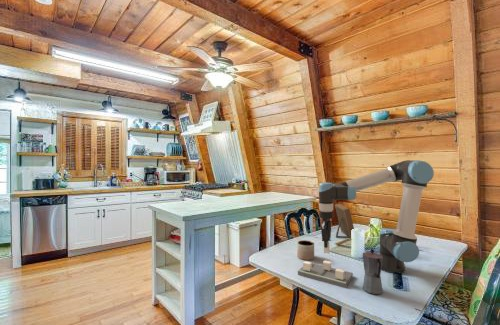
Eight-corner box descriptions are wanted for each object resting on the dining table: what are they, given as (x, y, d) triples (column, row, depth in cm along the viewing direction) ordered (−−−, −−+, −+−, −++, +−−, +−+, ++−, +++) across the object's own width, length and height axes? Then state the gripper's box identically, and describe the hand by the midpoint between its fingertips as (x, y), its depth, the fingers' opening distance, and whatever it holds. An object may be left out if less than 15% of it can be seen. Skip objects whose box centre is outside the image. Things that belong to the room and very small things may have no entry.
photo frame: (345, 231, 230) (345, 203, 230) (356, 239, 209) (356, 208, 208) (329, 231, 230) (329, 203, 230) (338, 239, 208) (337, 208, 208)
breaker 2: (344, 277, 137) (344, 270, 137) (343, 280, 134) (343, 272, 134) (336, 275, 139) (336, 268, 139) (335, 278, 137) (335, 270, 137)
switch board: (352, 276, 144) (352, 272, 144) (345, 287, 131) (345, 283, 131) (307, 265, 158) (307, 262, 158) (297, 274, 146) (297, 270, 146)
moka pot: (374, 283, 136) (375, 245, 136) (391, 299, 121) (392, 256, 120) (356, 283, 136) (357, 245, 135) (371, 299, 120) (372, 256, 120)
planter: (314, 261, 165) (314, 246, 165) (297, 259, 167) (297, 245, 167) (313, 255, 175) (314, 240, 175) (297, 253, 178) (297, 239, 177)
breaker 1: (311, 269, 147) (311, 262, 147) (309, 271, 144) (309, 264, 144) (305, 267, 149) (305, 260, 149) (302, 269, 147) (303, 262, 147)
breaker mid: (331, 268, 148) (331, 261, 148) (329, 270, 145) (329, 263, 145) (324, 267, 150) (324, 260, 150) (322, 269, 148) (322, 262, 147)
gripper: (323, 207, 152) (323, 247, 153) (315, 212, 142) (316, 255, 142) (336, 209, 148) (336, 250, 149) (329, 213, 137) (329, 257, 138)
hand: (326, 252), depth 145 cm, fingers closed
